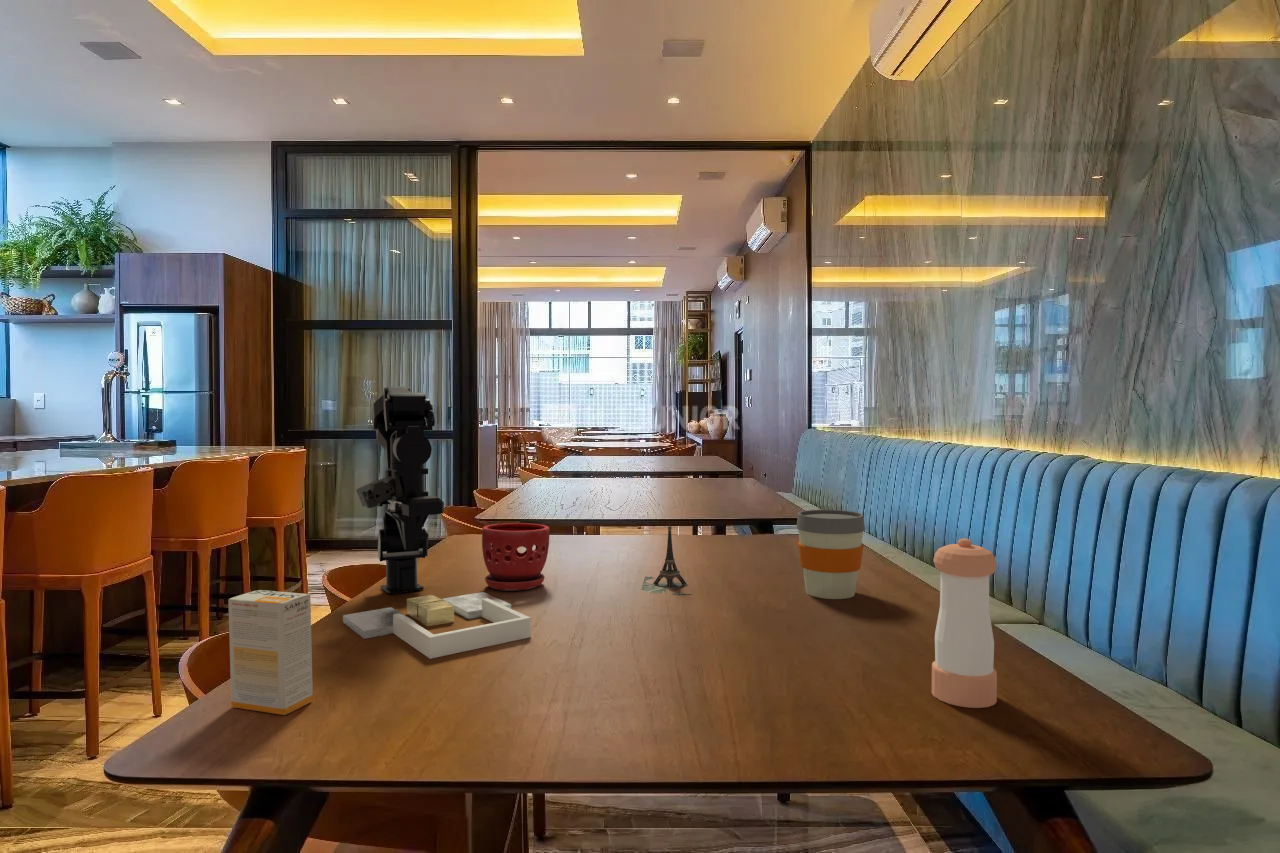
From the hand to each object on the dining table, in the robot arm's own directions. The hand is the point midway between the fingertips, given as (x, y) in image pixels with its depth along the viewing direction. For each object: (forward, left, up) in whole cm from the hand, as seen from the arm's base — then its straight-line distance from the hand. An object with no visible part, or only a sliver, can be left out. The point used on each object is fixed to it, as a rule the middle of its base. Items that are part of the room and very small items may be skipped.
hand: (408, 549), depth 133 cm
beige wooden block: (+13, 0, -10) cm, 16 cm away
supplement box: (+34, -29, -10) cm, 46 cm away
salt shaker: (+83, +38, -10) cm, 92 cm away
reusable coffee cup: (+41, +66, -10) cm, 78 cm away
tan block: (+8, 0, -10) cm, 13 cm away
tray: (+23, 0, -10) cm, 25 cm away
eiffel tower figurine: (+17, +46, -11) cm, 50 cm away
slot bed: (+10, 0, -10) cm, 14 cm away
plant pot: (-1, +22, -10) cm, 24 cm away
